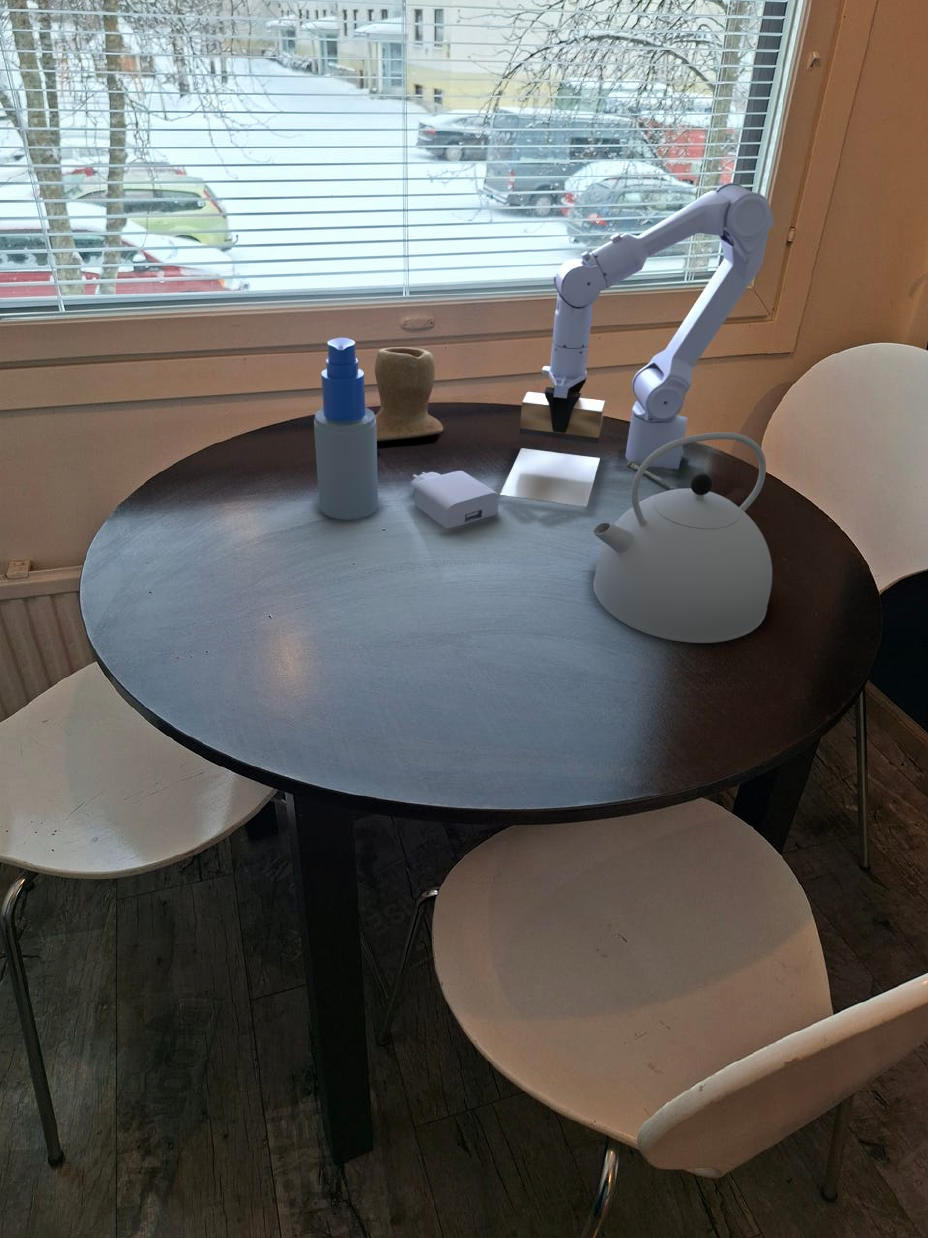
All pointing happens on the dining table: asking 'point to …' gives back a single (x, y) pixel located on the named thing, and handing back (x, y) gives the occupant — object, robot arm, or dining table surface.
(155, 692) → the dining table surface
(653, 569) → the kettle
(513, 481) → the whiteboard
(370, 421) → the spray bottle
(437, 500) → the charger
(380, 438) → the stone cup
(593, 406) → the eraser
